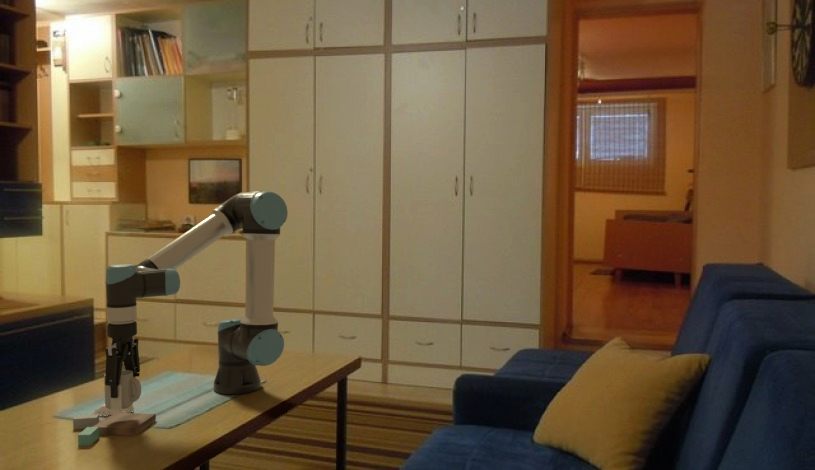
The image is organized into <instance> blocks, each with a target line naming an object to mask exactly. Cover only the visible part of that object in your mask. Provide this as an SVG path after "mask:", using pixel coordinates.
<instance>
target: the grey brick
mask: <svg viewBox="0 0 815 470" xmlns="http://www.w3.org/2000/svg"><path fill="white" fill-rule="evenodd" d="M99 422H100V416H99V414H94V415H92V414H83V415H82V414H80V415H74V417H73V419H72V423H73V425H72V426H73V428H72V430H82V429H83V430H84V429H85V428H87V427H93V426H94V425H96V424H98V423H99Z"/></svg>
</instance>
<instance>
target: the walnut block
mask: <svg viewBox="0 0 815 470" xmlns="http://www.w3.org/2000/svg"><path fill="white" fill-rule="evenodd" d="M156 417H157V415H156V413H133V412H132V413H114V414H112V415H111V416H110V415H109V416H108V417H107V416H106V418H104V419H103V420H101V421H99V423H98V424H96V425H94V426H93V427H99V436H101V435H103V436H131V437H132V436H133V437H134V436H137V435H138V434H140V433H142V431H144V430H145V429H147V428H148V427H150V426H151V425H152V424H154V423H155V422H156V421H155V420H157V419H156ZM154 421H155V422H154ZM153 422H154V423H153ZM151 423H152V424H151ZM150 424H151V425H150Z"/></svg>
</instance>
